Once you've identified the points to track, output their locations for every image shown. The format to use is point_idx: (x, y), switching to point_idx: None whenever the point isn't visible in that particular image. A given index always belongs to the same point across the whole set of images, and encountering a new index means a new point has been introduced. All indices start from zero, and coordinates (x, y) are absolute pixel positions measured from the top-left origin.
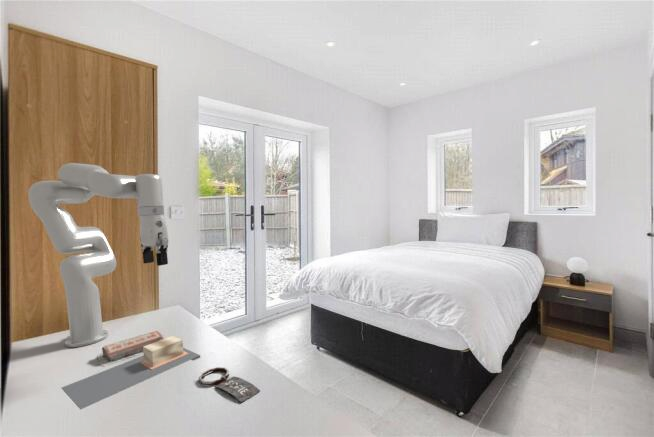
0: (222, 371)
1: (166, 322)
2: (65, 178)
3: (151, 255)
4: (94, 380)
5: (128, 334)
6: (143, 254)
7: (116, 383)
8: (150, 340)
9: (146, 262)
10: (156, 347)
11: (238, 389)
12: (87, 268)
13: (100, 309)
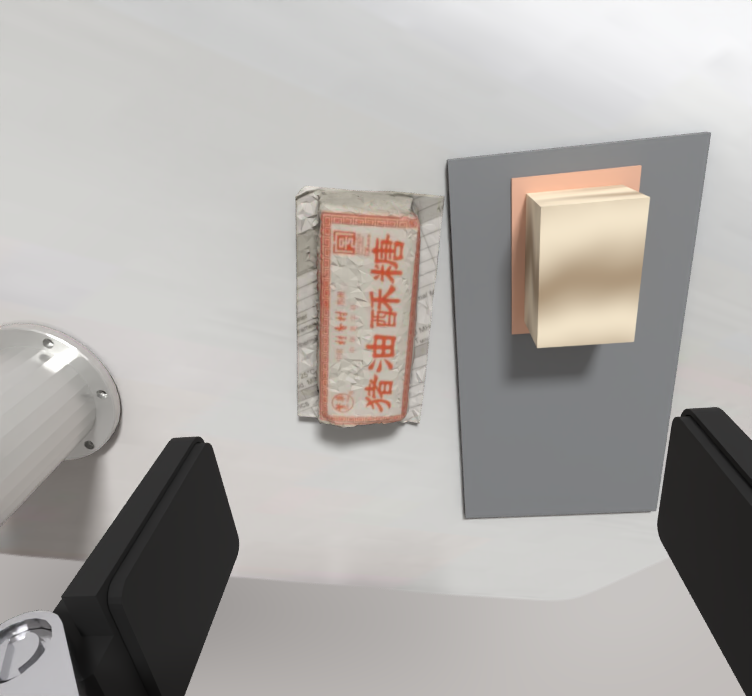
0: None
1: (42, 46)
2: None
3: (173, 546)
4: (508, 458)
5: (103, 261)
6: (180, 681)
7: (600, 424)
8: (414, 271)
9: (234, 534)
10: (609, 314)
11: None
12: None
13: None
